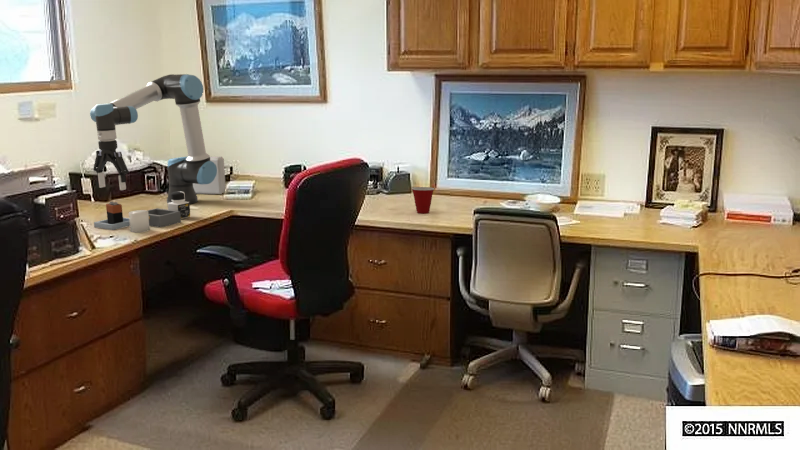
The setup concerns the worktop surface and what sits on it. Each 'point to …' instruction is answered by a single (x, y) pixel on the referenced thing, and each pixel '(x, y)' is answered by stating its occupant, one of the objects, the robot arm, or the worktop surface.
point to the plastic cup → (422, 199)
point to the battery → (114, 213)
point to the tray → (105, 224)
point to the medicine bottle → (179, 204)
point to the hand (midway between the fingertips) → (112, 188)
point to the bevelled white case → (217, 184)
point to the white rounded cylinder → (139, 221)
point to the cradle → (163, 217)
